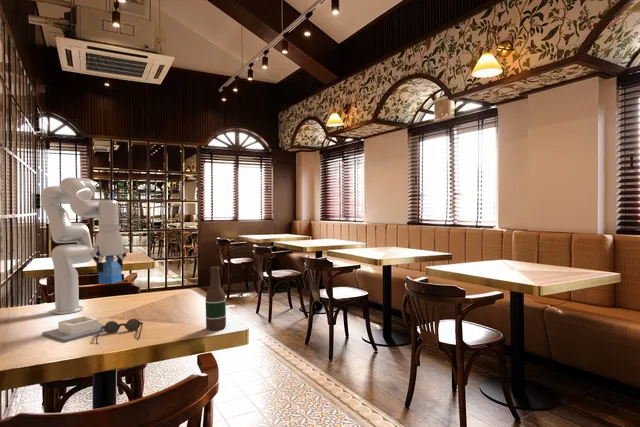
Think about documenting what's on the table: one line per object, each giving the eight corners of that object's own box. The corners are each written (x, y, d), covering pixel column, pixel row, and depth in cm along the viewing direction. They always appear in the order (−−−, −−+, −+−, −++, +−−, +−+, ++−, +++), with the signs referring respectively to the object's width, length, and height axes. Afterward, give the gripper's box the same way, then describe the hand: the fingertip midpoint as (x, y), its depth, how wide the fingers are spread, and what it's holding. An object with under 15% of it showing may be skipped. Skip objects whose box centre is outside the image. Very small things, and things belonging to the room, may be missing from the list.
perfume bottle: (111, 283, 168) (111, 254, 168) (98, 283, 169) (97, 254, 169) (121, 281, 174) (121, 253, 174) (108, 280, 175) (108, 253, 175)
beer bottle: (208, 332, 153) (206, 269, 153) (204, 327, 160) (202, 266, 160) (228, 329, 157) (227, 267, 157) (223, 324, 164) (222, 265, 164)
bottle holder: (42, 334, 155) (41, 323, 154) (90, 323, 170) (89, 312, 170) (65, 342, 145) (65, 329, 145) (114, 329, 160) (113, 318, 160)
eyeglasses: (143, 329, 160) (142, 317, 160) (140, 340, 146) (140, 327, 146) (101, 334, 155) (101, 321, 155) (94, 346, 141) (94, 332, 141)
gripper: (123, 228, 181) (124, 267, 181) (83, 230, 166) (84, 272, 166) (133, 228, 177) (134, 268, 177) (93, 230, 162) (94, 274, 162)
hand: (110, 270), depth 172 cm, fingers closed on perfume bottle, 8 cm apart
